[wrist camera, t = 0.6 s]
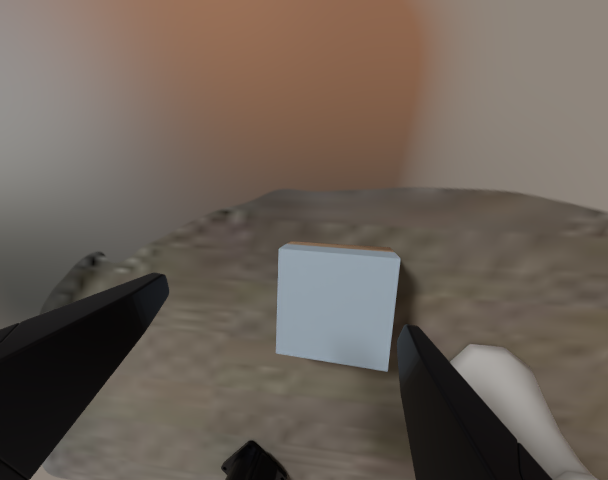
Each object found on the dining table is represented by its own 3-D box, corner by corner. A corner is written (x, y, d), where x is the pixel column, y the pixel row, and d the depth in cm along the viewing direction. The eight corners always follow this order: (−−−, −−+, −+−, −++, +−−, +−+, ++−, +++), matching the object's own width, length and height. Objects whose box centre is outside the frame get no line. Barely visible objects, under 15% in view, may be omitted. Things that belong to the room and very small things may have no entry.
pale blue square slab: (383, 353, 22) (387, 371, 20) (283, 338, 24) (275, 353, 21) (394, 252, 21) (400, 258, 18) (286, 243, 22) (278, 248, 20)
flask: (542, 360, 21) (705, 491, 12) (505, 420, 23) (622, 581, 13) (462, 330, 22) (551, 428, 13) (431, 390, 24) (489, 519, 14)
